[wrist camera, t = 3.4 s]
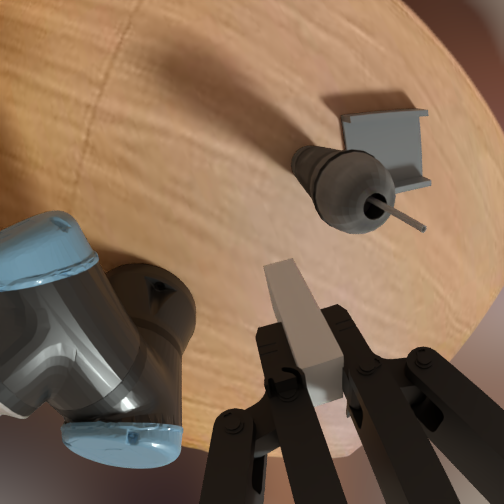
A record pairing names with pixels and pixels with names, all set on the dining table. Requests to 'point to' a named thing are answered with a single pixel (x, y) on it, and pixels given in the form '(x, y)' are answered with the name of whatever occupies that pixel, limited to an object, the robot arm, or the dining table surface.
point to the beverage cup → (348, 188)
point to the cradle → (390, 143)
